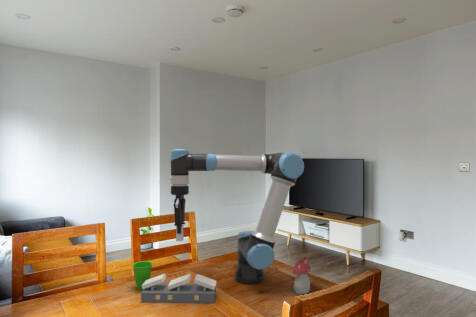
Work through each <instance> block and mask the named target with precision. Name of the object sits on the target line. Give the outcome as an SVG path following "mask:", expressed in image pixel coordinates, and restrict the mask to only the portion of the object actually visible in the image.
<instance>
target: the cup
mask: <svg viewBox="0 0 476 317" xmlns="http://www.w3.org/2000/svg"><path fill="white" fill-rule="evenodd" d="M153 265H154V263H153V261H150V260H142V261H141V260H140V261H136V262H134V263H133V264H132V268H133V275H134V281H135V287H136V289H137V290H138V291H143V290H144V289H142V285H143V283H144V282H145V281H146V280H148V279H151V274H152V268H153Z"/></svg>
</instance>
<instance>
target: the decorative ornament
mask: <svg viewBox="0 0 476 317" xmlns="http://www.w3.org/2000/svg"><path fill="white" fill-rule="evenodd" d="M308 261H309V257H308V256H304V257H303V259H302V260H299V261H297V262H296V263H295V264H294V266H293V268H292V273H293V274H294V275H296V276H295V278H294V281H293V287H292V291H293V293H294V294H295V295H299V296H300V295H302V296H303V294H304V295H306V294H307V293H309V292H310V290H311V281H310V278H309V275H308V274H309V273H310V272H311V271H312V270H311V265H310V264H309V263H308Z"/></svg>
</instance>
